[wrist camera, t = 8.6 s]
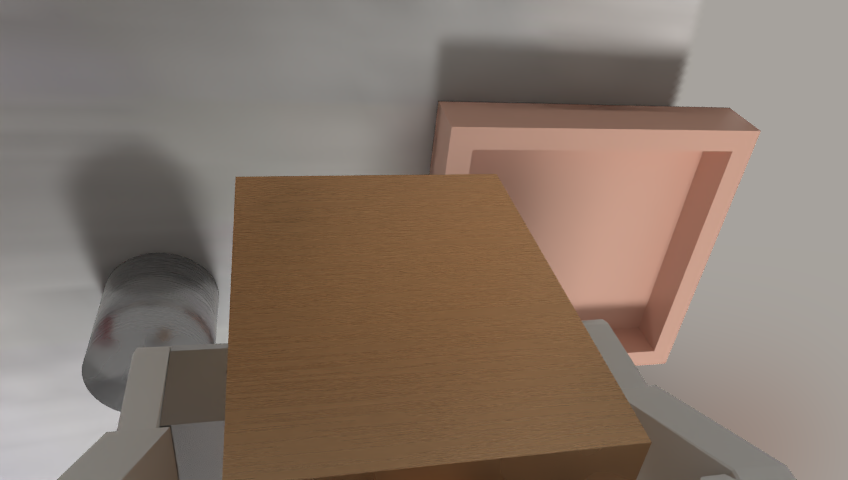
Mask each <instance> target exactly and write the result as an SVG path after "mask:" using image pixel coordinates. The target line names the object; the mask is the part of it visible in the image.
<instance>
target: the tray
mask: <svg viewBox="0 0 848 480" xmlns="http://www.w3.org/2000/svg"><path fill="white" fill-rule="evenodd" d="M759 134H760V130H759V129H757V128H756V127H755V126H753V125H752V124H751V123H749V122H748V121H746V120H745V119H744V118H742V117H741V116H740V115H738V114H737V113H736V112H734V111H733V110H732V109H730V108H716V107H714V108H713V107H671V106H625V105H580V104H534V103H489V102H443V101H438V109H437V117H436V125H435V133H434V141H433V149H432V157H431V165H430V173H429V175H451V174H497V176H498V177H499V179H500V181H501V182H502V184H503V186H504V188H505V189H506V191H507V193H508V195H509V196H510V198H511V200H512V202H513V203H514V205H515V207H516V208H517V210H518V212H519V214H520V215H521V217H522V219H523V221H524V222H525V224H526V226H527V227H528V229H529V231H530V233H531V234H532V236H533V238H534V240H535V241H536V243H537V245H538V246H539V248H540V250H541V252H542V253H543V255H544V257H545V259H546V260H547V262H548V264H549V265H550V267H551V269H552V271H553V272H554V274H555V276H556V278H557V279H558V281H559V283H560V284H561V286H562V288H563V290H564V291H565V293H566V295H567V297H568V298H569V300H570V302H571V303H572V305H573V307H574V309H575V310H576V312H577V314H578V316H579V317H580V319H581V321H583V320H596V319H603V320H605V321H606V322H608V324H609V325H610V327H611V328H612V330H613V331H614V333H615V335H616V336H617V338H618V339H619V341H620V342H621V344H622V346H623V347H624V349H625V350H626V352H627V353H628V355H629V357H630V358H631V360H632V361H633V363H634V364H635V366H637V365H650V364H665V363H666V361H667V358H668V356H669V353H670V351H671V349H672V346H673V344H674V341H675V339H676V336H677V334H678V331H679V329H680V327H681V324H682V322H683V319H684V317H685V314H686V312H687V310H688V307H689V305H690V302H691V300H692V297H693V295H694V292H695V290H696V288H697V285H698V283H699V280H700V278H701V275H702V273H703V270H704V268H705V266H706V263H707V261H708V258H709V256H710V254H711V251H712V249H713V246H714V244H715V241H716V239H717V236H718V234H719V232H720V229H721V227H722V224H723V222H724V219H725V217H726V214H727V212H728V210H729V207H730V205H731V202H732V200H733V198H734V195H735V192H736V190H737V188H738V185H739V183H740V180H741V178H742V176H743V173H744V171H745V168H746V166H747V163H748V161H749V159H750V156H751V154H752V151H753V149H754V146H755V144H756V141H757V139H758V137H759Z"/></svg>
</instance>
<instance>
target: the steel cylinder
mask: <svg viewBox="0 0 848 480" xmlns="http://www.w3.org/2000/svg"><path fill="white" fill-rule="evenodd" d="M218 303H219V293H218V288H217V285H216V283H215V281H214V279H213V278H212V276H211V275H210V274H209V273H208V272H207V271H206V270H205V269H204V268H203V267H202V266H200V265H199V264H197V263H195V262H194V261H192V260H190V259H187V258H185V257H182V256H178V255H174V254H167V253H151V254H145V255H140V256H137V257H134V258H131V259H129V260H127V261H125V262H124V263H122V264H121V265H119V266H118V267H117V268H116V269H115V270H114V271H113V272H112V273H111V275H110V276H109V278H108V280H107V282H106V285H105V289H104V292H103V296H102V299H101V303H100V306H99V310H98V313H97V317H96V320H95V323H94V327H93V330H92V334H91V337H90V341H89V344H88V348H87V351H86V354H85V358H84V361H83V365H82V376H83V380H84V383H85V385H86V387H87V389H88V390H89V391H90V393H91V394H92V395H93V396H94V397H95V398H96V399H97V400H99V401H100V402H101V403H103V404H104V405H106V406H108V407H110V408H112V409H114V410H117V411H120V412H121V409H122V404H123V399H124V394H125V389H126V384H127V379H128V375H129V370H130V365H131V360H132V355H133V353H134V352H135V350H136V348H137V347H166V346H171V347H172V346H173V345H198V344H216V330H217V317H218Z"/></svg>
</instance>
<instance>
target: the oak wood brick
mask: <svg viewBox="0 0 848 480" xmlns="http://www.w3.org/2000/svg"><path fill="white" fill-rule="evenodd" d="M651 443H652V442H651V440H650V438H649V437H648V435H647V433H646V431H645V430H644V428H643V426H642V424H641V423H640V421H639V419H638V418H637V416H636V414H635V412H634V411H633V409H632V407H631V405H630V404H629V402H628V400H627V399H626V397H625V395H624V393H623V392H622V390H621V388H620V386H619V385H618V383H617V381H616V380H615V378H614V376H613V374H612V373H611V371H610V369H609V367H608V366H607V364H606V362H605V361H604V359H603V357H602V355H601V354H600V352H599V350H598V348H597V347H596V345H595V343H594V342H593V340H592V338H591V336H590V335H589V333H588V331H587V329H586V328H585V326H584V324H583V322H582V321H581V319H580V317H579V316H578V314H577V312H576V310H575V309H574V307H573V305H572V303H571V302H570V300H569V298H568V297H567V295H566V293H565V291H564V290H563V288H562V286H561V284H560V283H559V281H558V279H557V278H556V276H555V274H554V272H553V271H552V269H551V267H550V265H549V264H548V262H547V260H546V259H545V257H544V255H543V253H542V252H541V250H540V248H539V246H538V245H537V243H536V241H535V240H534V238H533V236H532V234H531V233H530V231H529V229H528V227H527V226H526V224H525V222H524V221H523V219H522V217H521V215H520V214H519V212H518V210H517V208H516V207H515V205H514V203H513V202H512V200H511V198H510V196H509V195H508V193H507V191H506V189H505V188H504V186H503V184H502V182H501V181H500V179H499V177H498V176H497V174H451V175H361V176H271V177H236V183H235V205H234V227H233V249H232V272H231V294H230V316H229V339H228V361H227V383H226V406H225V428H224V450H223V473H222V480H636V479H637V476H638V474H639V472H640V469H641V467H642V465H643V462H644V460H645V457H646V455H647V453H648V450H649V448H650V446H651Z"/></svg>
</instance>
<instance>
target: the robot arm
mask: <svg viewBox="0 0 848 480" xmlns="http://www.w3.org/2000/svg"><path fill="white" fill-rule="evenodd" d="M582 322H583V324H584V326H585V328H586V329H587V331H588V333H589V335H590V336H591V338H592V340H593V342H594V343H595V345H596V347H597V348H598V350H599V352H600V354H601V355H602V357H603V359H604V361H605V362H606V364H607V366H608V367H609V369H610V371H611V373H612V374H613V376H614V378H615V380H616V381H617V383H618V385H619V386H620V388H621V390H622V392H623V393H624V395H625V397H626V399H627V400H628V402H629V404H630V405H631V407H632V409H633V411H634V412H635V414H636V416H637V418H638V419H639V421H640V423H641V424H642V426H643V428H644V430H645V431H646V433H647V435H648V437H649V438H650V440H651V442H652V443H651V446H650V448H649V450H648V453H647V455H646V457H645V460H644V462H643V465H642V467H641V469H640V472H639V474H638V476H637V479H636V480H797V479H796V478H795V477H794V475H793V474H792V473H791V471H790V470H789V469H788V467H787V466H786V465H785V464H783V463H781V462H780V461H778V460H777V459H775V458H773V457H771V456H770V455H769V454H767V453H765V452H764V451H762V450H760V449H759V448H757V447H755V446H754V445H752V444H751V443H749V442H747V441H746V440H744V439H743V438H741V437H739V436H738V435H736V434H734V433H733V432H731V431H730V430H728V429H726V428H725V427H723V426H721V425H720V424H718V423H717V422H715V421H713V420H712V419H710V418H709V417H706V416H705V415H704V414H702V413H700V412H699V411H697V410H695V409H694V408H692V407H691V406H689V405H687V404H686V403H684V402H683V401H681V400H679V399H677V398H676V397H674V396H673V395H671V394H670V393H668V392H666V391H665V390H663V389H661V388H660V387H658V386H657V385H652V386H648V385H647V383H646V382H645V380H644V378H643V377H642V375H641V374H640V372H639V371H638V369H637V368H636V366H635V364H634V363H633V361H632V360H631V358H630V357H629V355H628V353H627V352H626V350H625V349H624V347H623V346H622V344H621V342H620V341H619V339H618V338H617V336H616V335H615V333H614V331H613V330H612V328H611V327H610V325H609V324H608V322H606V321H605V320H603V319H596V320H583V321H582ZM227 361H228V343H224V344H198V345H173V346H172V347H171V346H166V347H137V348H136V350H135V352H134V353H133V355H132V360H131V365H130V370H129V375H128V379H127V384H126V389H125V394H124V399H123V404H122V409H121V413H120V418H119V423H118V428H117V431H115V432H106V433H105V434H104V435H103V436H102V437H101V438H100V439H99V440H98V441H97V442H96V443H94V444H93V445H92V446H91V447H90V448H89V449H88V450H87V451H86V452H85V453H84V454H83V455H82V456H81V457H80V458H79V459H78V460H77V461H76V462H75V463H74V464H73V465H72V466H71V467H70V468H69V469H68V470H67V471H65V472H64V473H63V474H62V475H61V476H60V477H59V478H58V479H57V480H222V473H223V450H224V428H225V406H226V383H227Z"/></svg>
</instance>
